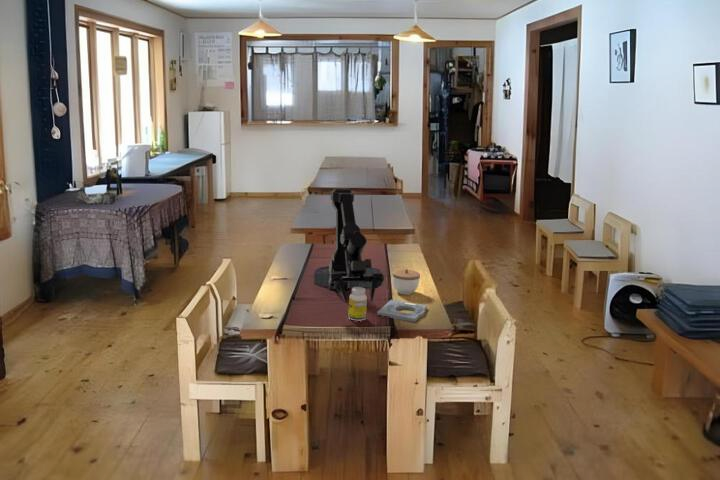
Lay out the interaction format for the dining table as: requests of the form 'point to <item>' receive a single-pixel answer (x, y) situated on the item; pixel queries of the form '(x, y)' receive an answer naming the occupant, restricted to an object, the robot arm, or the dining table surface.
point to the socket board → (392, 312)
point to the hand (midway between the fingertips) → (358, 301)
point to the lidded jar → (405, 281)
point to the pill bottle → (357, 304)
